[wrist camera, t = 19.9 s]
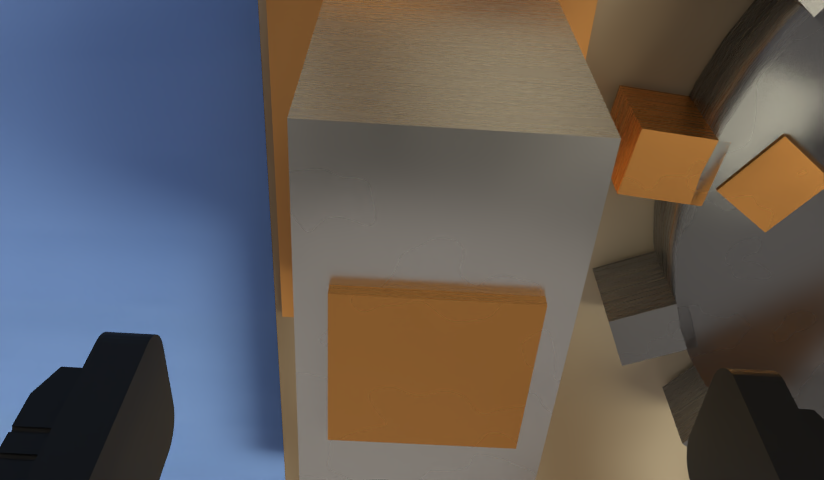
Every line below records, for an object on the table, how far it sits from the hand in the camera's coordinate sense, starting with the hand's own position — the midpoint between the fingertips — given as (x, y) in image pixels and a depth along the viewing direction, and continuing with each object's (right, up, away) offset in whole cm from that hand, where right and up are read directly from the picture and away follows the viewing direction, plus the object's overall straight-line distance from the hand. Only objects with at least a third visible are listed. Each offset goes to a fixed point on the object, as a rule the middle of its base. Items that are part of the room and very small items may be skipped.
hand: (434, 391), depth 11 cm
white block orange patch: (0, +4, +6) cm, 7 cm away
